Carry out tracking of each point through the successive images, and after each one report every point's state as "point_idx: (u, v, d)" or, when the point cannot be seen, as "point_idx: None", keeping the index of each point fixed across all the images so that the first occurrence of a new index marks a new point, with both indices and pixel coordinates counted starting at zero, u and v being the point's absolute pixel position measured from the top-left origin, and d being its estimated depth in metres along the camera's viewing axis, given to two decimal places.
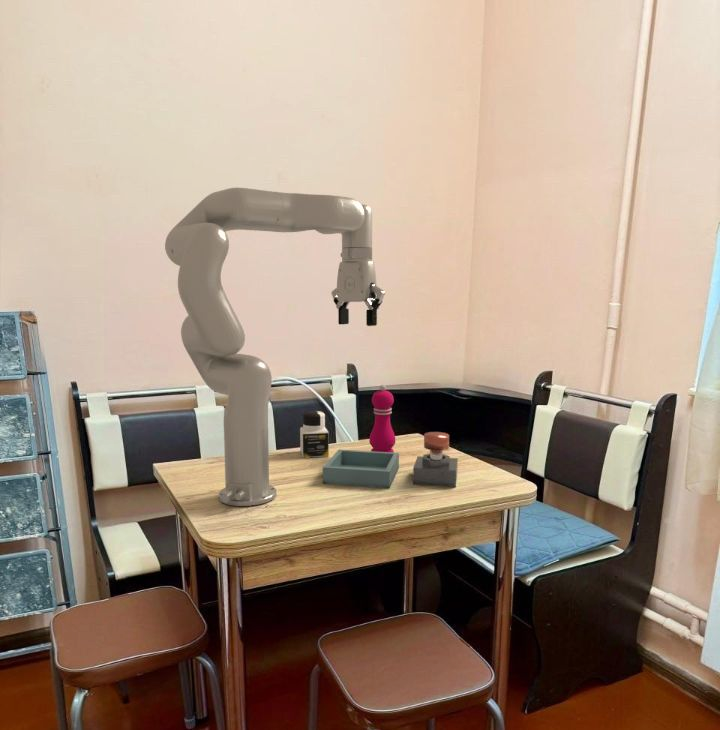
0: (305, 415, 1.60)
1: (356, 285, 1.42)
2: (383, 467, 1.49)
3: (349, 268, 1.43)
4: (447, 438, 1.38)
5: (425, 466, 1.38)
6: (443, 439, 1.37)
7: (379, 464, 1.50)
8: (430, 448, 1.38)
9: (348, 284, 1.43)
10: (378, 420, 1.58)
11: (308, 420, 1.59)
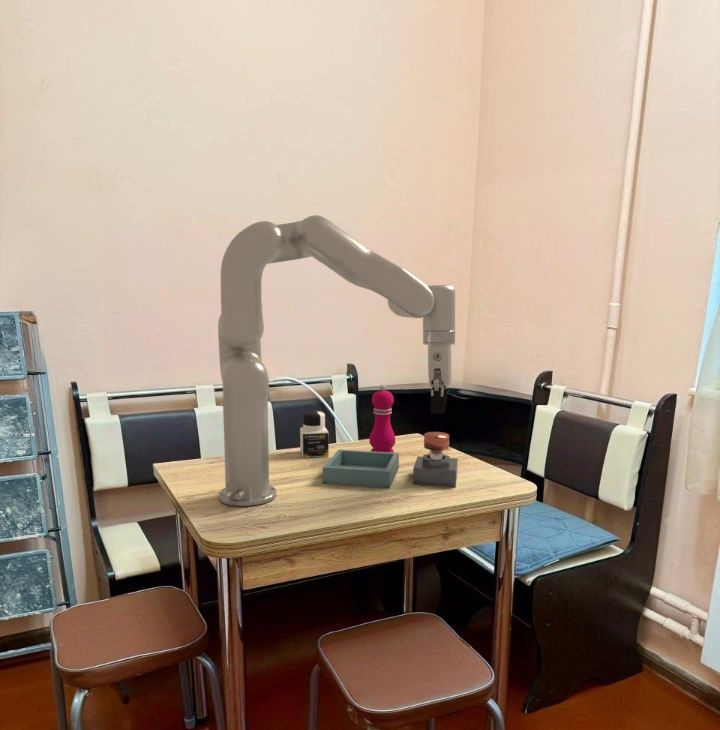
0: (305, 415, 1.60)
1: None
2: (383, 467, 1.49)
3: (450, 350, 1.37)
4: (447, 438, 1.38)
5: (425, 466, 1.38)
6: (443, 439, 1.37)
7: (379, 464, 1.50)
8: (430, 448, 1.38)
9: None
10: (378, 420, 1.58)
11: (309, 420, 1.59)
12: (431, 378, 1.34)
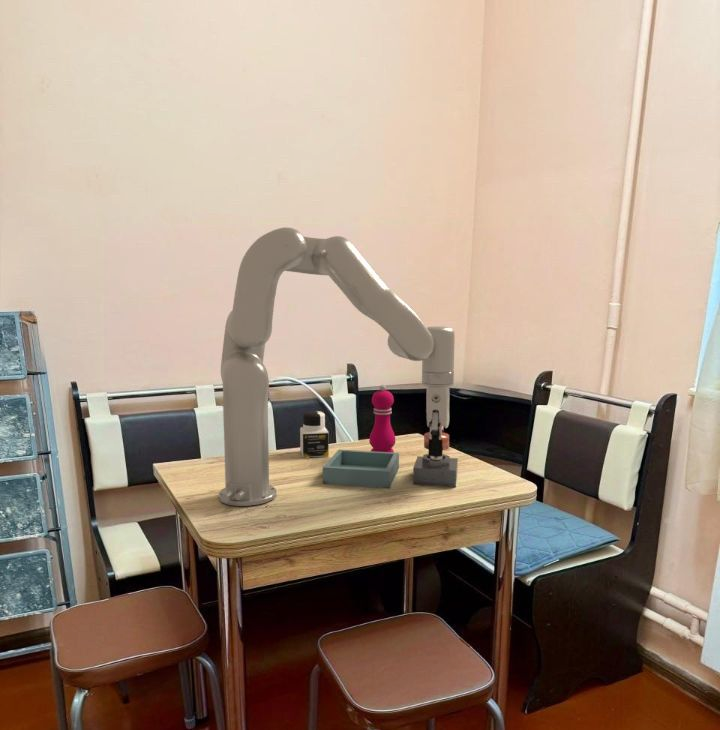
0: (305, 415, 1.60)
1: None
2: (383, 467, 1.49)
3: None
4: (447, 438, 1.38)
5: (425, 466, 1.38)
6: (443, 439, 1.38)
7: (379, 464, 1.50)
8: None
9: None
10: (378, 420, 1.58)
11: (309, 420, 1.59)
12: (429, 423, 1.35)
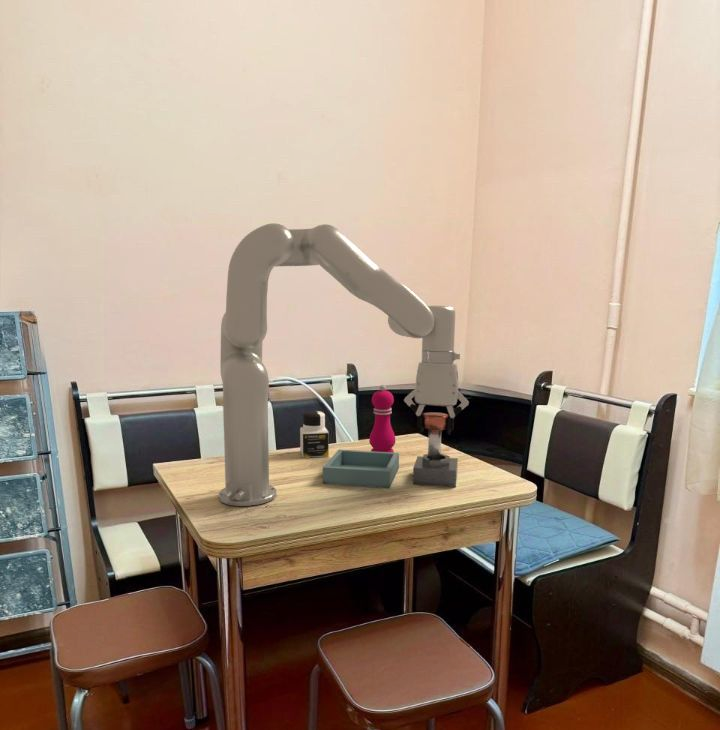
0: (305, 415, 1.60)
1: None
2: (383, 467, 1.49)
3: None
4: None
5: (425, 466, 1.38)
6: None
7: (379, 464, 1.50)
8: (446, 427, 1.38)
9: None
10: (378, 420, 1.58)
11: (309, 420, 1.59)
12: None
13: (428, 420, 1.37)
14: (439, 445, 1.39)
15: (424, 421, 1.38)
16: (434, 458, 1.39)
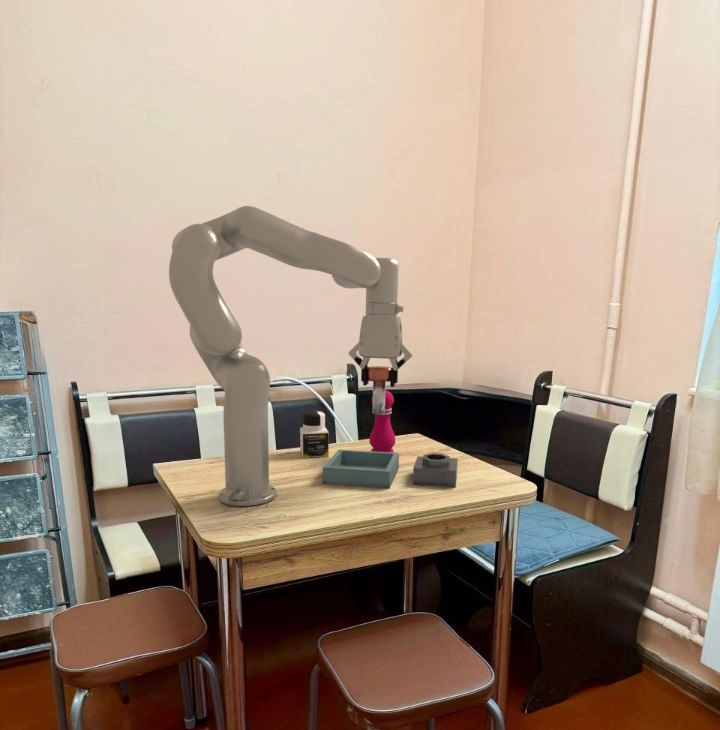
0: (305, 415, 1.60)
1: None
2: (383, 467, 1.49)
3: None
4: None
5: (425, 466, 1.38)
6: None
7: (379, 464, 1.50)
8: (389, 380, 1.38)
9: None
10: (378, 420, 1.58)
11: (309, 420, 1.59)
12: None
13: (371, 372, 1.38)
14: (383, 398, 1.40)
15: (368, 373, 1.39)
16: (378, 411, 1.40)
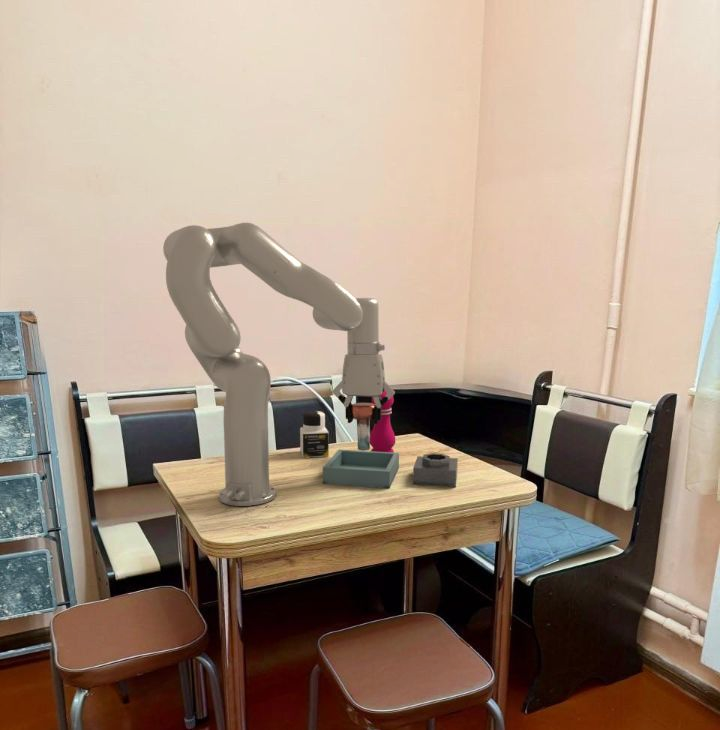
0: (305, 415, 1.60)
1: None
2: (383, 467, 1.49)
3: None
4: None
5: (425, 466, 1.38)
6: None
7: (379, 464, 1.50)
8: (373, 417, 1.41)
9: None
10: None
11: (309, 420, 1.59)
12: None
13: (355, 410, 1.40)
14: (367, 434, 1.42)
15: (352, 411, 1.41)
16: (363, 447, 1.42)
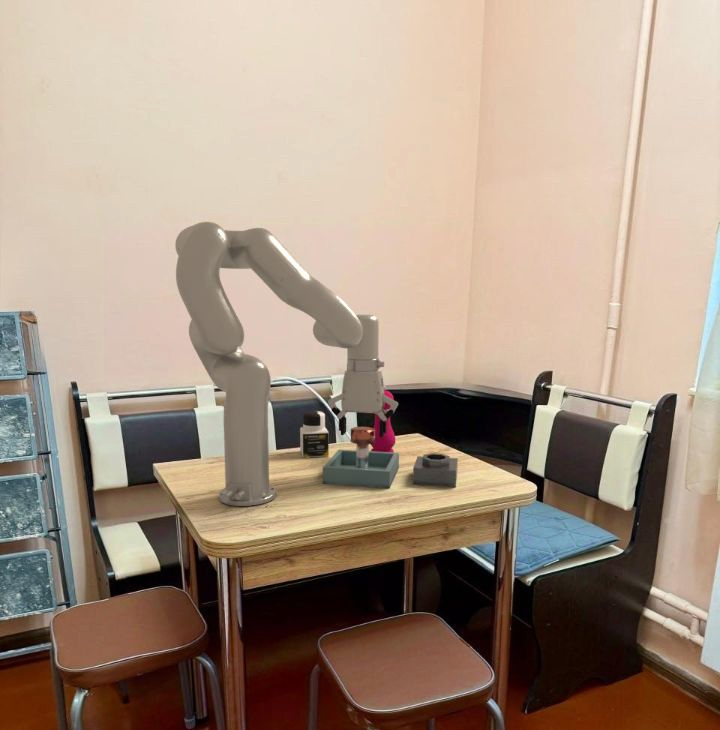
0: (305, 415, 1.60)
1: None
2: (383, 467, 1.49)
3: None
4: None
5: (425, 466, 1.38)
6: None
7: (379, 464, 1.50)
8: (372, 442, 1.41)
9: None
10: (378, 420, 1.58)
11: (309, 420, 1.59)
12: (382, 404, 1.39)
13: (354, 434, 1.41)
14: (366, 459, 1.43)
15: (351, 435, 1.42)
16: None
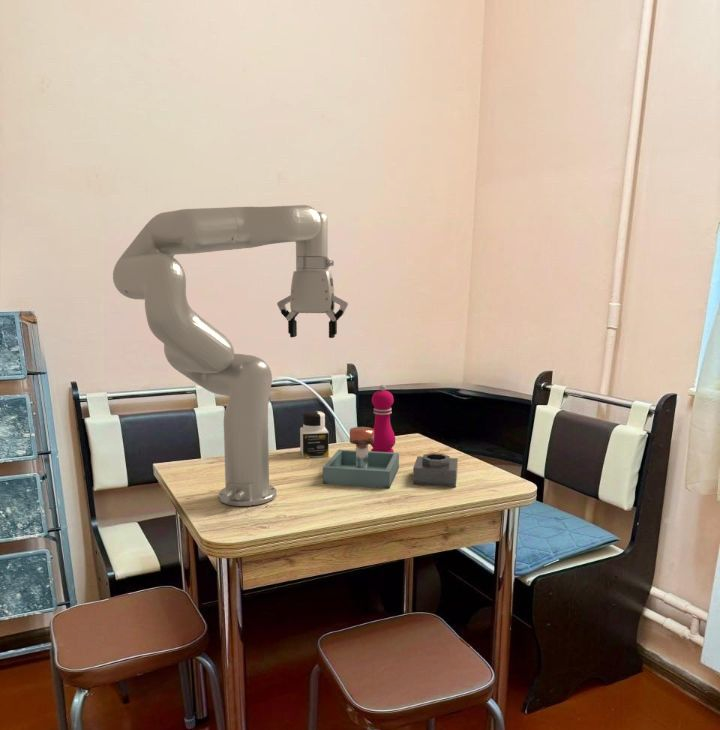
0: (305, 415, 1.60)
1: None
2: (383, 467, 1.49)
3: None
4: None
5: (425, 466, 1.38)
6: None
7: (379, 464, 1.50)
8: (371, 442, 1.41)
9: None
10: (378, 420, 1.58)
11: (309, 420, 1.59)
12: (331, 303, 1.37)
13: (353, 435, 1.41)
14: (366, 459, 1.43)
15: (350, 436, 1.42)
16: None
